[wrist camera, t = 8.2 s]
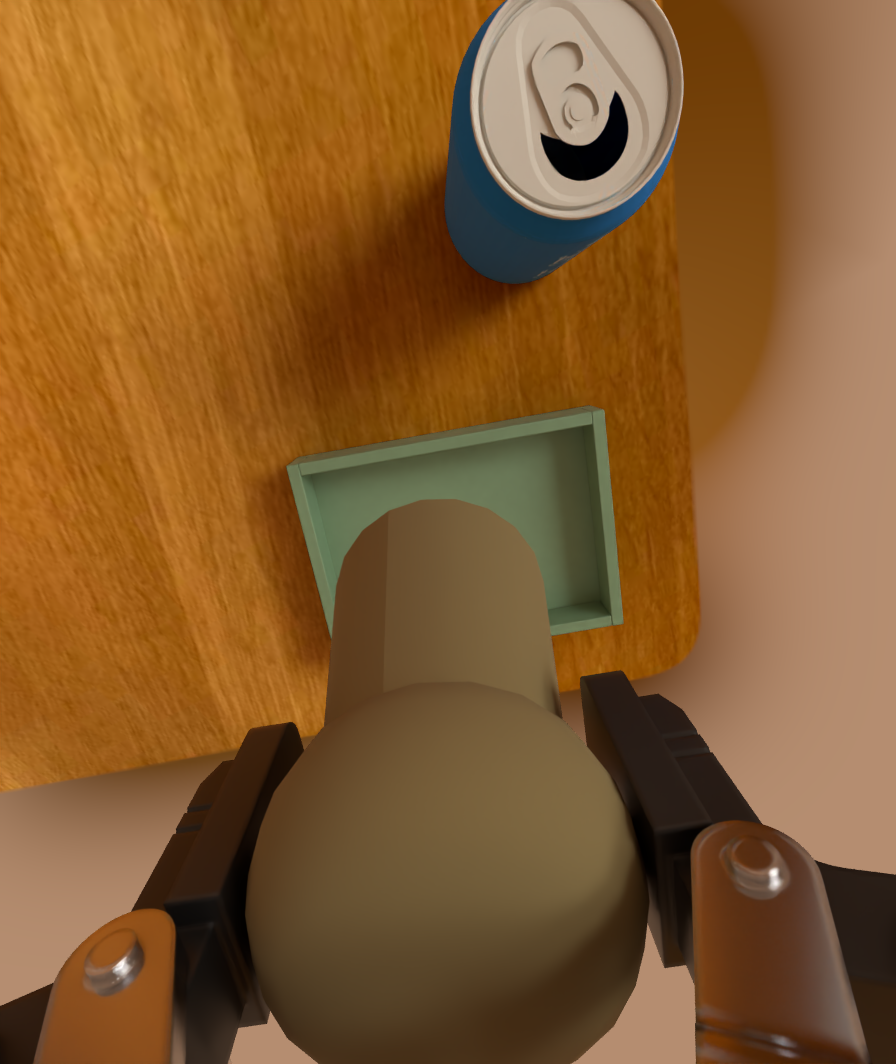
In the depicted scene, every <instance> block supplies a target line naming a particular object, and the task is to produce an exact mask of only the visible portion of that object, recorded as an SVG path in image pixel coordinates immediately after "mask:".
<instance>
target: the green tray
mask: <svg viewBox="0 0 896 1064" xmlns="http://www.w3.org/2000/svg"><path fill="white" fill-rule="evenodd" d="M286 468H287V472H288V476H289V480H290V484H291V488H292V491H293V495H294V499H295V503H296V507H297V511H298V515H299V518H300V522H301V526H302V530H303V534H304V538H305V541H306V545H307V549H308V553H309V557H310V561H311V564H312V568H313V572H314V576H315V580H316V584H317V588H318V591H319V595H320V599H321V603H322V607H323V611H324V614H325V618H326V622H327V626H328V630H329V634H330V637H331V640H332V628H333V616H334V605H335V593H336V585H337V581H338V578H339V574H340V570H341V566H342V563H343V559H344V556H345V555H346V553H347V552H348V550H349V549H350V548H351V546H352V545H353V543H354V542H355V540H356V539H357V537H358V536H359V534H360V533H361V532H362V530H364V529H365V528H366V527H368V526H369V525H370V524H372V523H373V522H374V521H376V520H377V519H378V518H380V517H381V516H382V515H384V514H385V513H386V512H388V511H389V510H392V509H395V508H398V507H401V506H404V505H407V504H410V503H413V502H416V501H418V500H426V499H458V500H461V501H464V502H468V503H471V504H475V505H478V506H482V507H485V508H488V509H490V510H491V511H493V512H494V513H496V514H497V515H498V516H500V517H501V518H503V519H504V520H506V521H507V522H509V523H510V524H512V525H513V526H515V527H516V529H517V530H518V531H519V533H520V534H521V535H522V537H523V538H524V539H525V541H526V542H527V543H528V545H529V546H530V547H531V549H532V550H533V551H534V553H535V556H536V559H537V562H538V565H539V568H540V572H541V575H542V578H543V581H544V587H545V595H546V602H547V609H548V617H549V624H550V631H551V636H553V635H559V634H565V633H571V632H577V631H583V630H589V629H595V628H601V627H607V626H611V625H613V626H614V625H620V624H623V612H622V601H621V590H620V579H619V568H618V557H617V546H616V535H615V524H614V513H613V502H612V491H611V480H610V469H609V458H608V447H607V436H606V425H605V414H604V410H603V409H600V408H597V407H594V406H590V405H589V406H583V407H577V408H572V409H566V410H560V411H555V412H549V413H544V414H538V415H532V416H527V417H521V418H516V419H510V420H504V421H499V422H493V423H488V424H482V425H476V426H471V427H465V428H459V429H454V430H448V431H443V432H437V433H431V434H426V435H420V436H415V437H409V438H403V439H398V440H392V441H386V442H381V443H375V444H370V445H364V446H358V447H353V448H347V449H342V450H336V451H330V452H325V453H319V454H314V455H308V456H302V457H298V458H296V459H295V460H294V461H293V462H291V463H290V464H289V465H287V466H286Z"/></svg>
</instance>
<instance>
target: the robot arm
mask: <svg viewBox="0 0 896 1064" xmlns="http://www.w3.org/2000/svg"><path fill="white" fill-rule="evenodd" d="M580 688H581V697H582V706H583V715H584V724H585V732H586V742H587V747H588V748H589V749H590V751H591V752H592V753H593V754H594V756H595V757H596V758H597V759H598V761H599V762H600V763H601V764H602V765H603V767H604V768H605V769H606V770H607V772H608V773H609V774H610V775H611V777H612V778H613V779H614V780H615V782H616V784H617V786H618V788H619V791H620V793H621V795H622V797H623V799H624V802H625V804H626V806H627V808H628V810H629V813H630V815H631V819H632V822H633V825H634V828H635V832H636V835H637V838H638V841H639V845H640V848H641V851H642V854H643V858H644V863H645V867H646V875H647V883H648V891H649V899H650V904H649V913H648V922H647V923H648V925H649V928H650V931H651V933H652V936H653V938H654V941H655V944H656V946H657V949H658V952H659V955H660V957H661V960H662V963H663V965H664V968H668V967H675V966H682V965H686V966H687V968H688V970H689V973H690V975H691V978H692V980H693V983H694V985H695V1007H696V1008H695V1010H696V1023H695V1039H696V1040H695V1041H696V1064H896V875H894V874H886V873H878V872H871V871H862V870H855V869H847V868H842V867H836V866H832V865H828V864H825V863H821V862H818V861H816V860H814V859H813V858H812V857H811V855H810V854H809V853H808V852H807V851H806V850H805V849H804V848H803V847H802V846H801V845H800V844H799V843H798V842H796V841H795V840H793V839H792V838H790V837H789V836H787V835H786V834H784V833H782V832H780V831H778V830H776V829H774V828H771V827H769V826H766V825H763V824H762V823H761V822H760V820H759V819H758V817H757V816H756V814H755V813H754V812H753V810H752V809H751V807H750V806H749V804H748V803H747V801H746V800H745V799H744V797H743V796H742V794H741V793H740V791H739V790H738V789H737V787H736V786H735V784H734V783H733V781H732V780H731V779H730V777H729V776H728V774H727V773H726V771H725V770H724V769H723V767H722V766H721V764H720V763H719V762H718V760H717V758H716V757H715V756H714V754H713V753H710V750H709V747H708V746H707V744H706V743H705V741H704V740H703V738H702V737H701V736H700V735H698V733H697V730H696V728H695V727H694V726H693V724H692V723H691V722H690V720H689V719H688V717H687V716H686V714H685V713H684V711H683V710H682V709H681V708H679V707H678V706H676V705H675V704H673V703H672V702H670V701H669V700H667V699H665V698H664V697H662V696H661V695H659V694H654V695H648V696H641V697H638V696H637V694H636V692H635V691H634V689H633V688H632V686H631V684H630V682H629V680H628V679H627V677H626V675H625V674H624V672H623V671H621V670H620V671H614V672H608V673H601V674H595V675H589V676H582V677H581V678H580ZM303 752H304V749H303V745H302V742H301V738H300V735H299V732H298V729H297V727H296V725H295V724H294V723H293V722H288V723H282V724H276V725H269V726H263V727H257V728H252V729H250V730H249V731H248V733H247V735H246V737H245V739H244V741H243V743H242V745H241V747H240V749H239V751H238V753H237V755H236V757H235V759H234V760H230V761H223V762H222V763H221V764H220V765H219V766H218V767H217V768H216V769H215V770H214V771H213V772H212V773H211V774H210V775H209V776H208V777H207V778H206V779H205V780H204V781H203V782H202V783H201V784H200V786H199V788H198V790H197V791H196V794H195V795H194V797H193V799H192V801H191V803H190V804H189V806H188V808H187V809H188V811H187V813H185V814H184V815H183V817H182V819H181V821H180V823H179V824H178V826H177V828H176V834H173V836H172V837H171V839H170V841H169V843H168V845H167V847H166V848H165V850H164V852H163V854H162V856H161V858H160V859H159V861H158V863H157V865H156V867H155V869H154V870H153V872H152V874H151V876H150V878H149V880H148V881H147V883H146V885H145V887H144V889H143V891H142V892H141V894H140V896H139V898H138V900H137V902H136V903H135V905H134V907H133V909H132V911H131V912H130V913H127V914H124V915H122V916H120V917H118V918H116V919H114V920H112V921H110V922H109V923H107V924H105V925H104V926H102V927H101V928H100V929H98V930H97V931H95V932H94V933H93V934H92V935H90V936H89V937H88V938H87V939H86V940H85V941H84V942H82V943H81V944H80V946H79V947H78V948H77V949H76V950H75V951H74V952H73V953H72V954H71V956H70V957H69V958H68V959H67V961H66V962H65V964H64V965H63V967H62V968H61V970H60V971H59V973H58V975H57V977H56V979H55V981H54V983H52V984H50V985H47V986H45V987H43V988H41V989H38V990H36V991H34V992H31V993H29V994H27V995H25V996H22V997H20V998H18V999H15V1000H13V1001H11V1002H9V1003H6V1004H4V1005H2V1006H0V1064H232V1062H231V1060H230V1054H231V1051H232V1047H233V1043H234V1040H235V1037H236V1034H237V1030H238V1028H240V1027H248V1026H254V1025H261V1024H267V1021H268V1017H269V1014H270V1009H269V1008H268V1006H267V1005H266V1003H265V1001H264V999H263V996H262V993H261V989H260V986H259V983H258V979H257V976H256V973H255V969H254V966H253V963H252V956H251V950H250V944H249V937H248V931H247V925H246V918H245V908H246V895H247V881H248V873H249V869H250V865H251V861H252V858H253V854H254V850H255V846H256V842H257V838H258V835H259V831H260V827H261V824H262V821H263V819H264V816H265V814H266V811H267V809H268V806H269V804H270V801H271V798H272V796H273V793H274V791H275V790H276V789H277V787H278V786H279V784H280V783H281V782H282V780H283V779H284V778H285V776H286V775H287V774H288V772H289V771H290V770H291V768H292V767H293V766H294V764H295V763H296V761H297V760H298V759H299V757H300V756H301V755H302V753H303Z"/></svg>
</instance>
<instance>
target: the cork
mask: <svg viewBox="0 0 896 1064" xmlns="http://www.w3.org/2000/svg"><path fill="white" fill-rule="evenodd" d="M649 904H650V899H649V891H648V883H647V875H646V867H645V863H644V858H643V854H642V851H641V848H640V845H639V841H638V838H637V835H636V832H635V828H634V825H633V822H632V819H631V815H630V813H629V810H628V808H627V806H626V804H625V802H624V799H623V797H622V795H621V793H620V791H619V788H618V786H617V784H616V782H615V780H614V779H613V778H612V777H611V775H610V774H609V773H608V772H607V770H606V769H605V768H604V767H603V765H602V764H601V763H600V762H599V761H598V759H597V758H596V757H595V756H594V754H593V753H592V752H591V751H590V749H589V748H588V747H587V746H586V745H585V743H584V742H583V741H582V740H581V739H580V737H579V736H578V735H577V734H576V733H575V732H574V731H573V730H572V729H571V727H570V726H569V725H568V724H567V723H566V722H565V721H564V720H563V719H562V712H561V704H560V697H559V690H558V682H557V675H556V668H555V660H554V653H553V646H552V639H551V631H550V624H549V617H548V609H547V602H546V595H545V587H544V581H543V578H542V575H541V572H540V568H539V565H538V562H537V559H536V556H535V553H534V551H533V550H532V549H531V547H530V546H529V545H528V543H527V542H526V541H525V539H524V538H523V537H522V535H521V534H520V533H519V531H518V530H517V529H516V527H515V526H513V525H512V524H510V523H509V522H507V521H506V520H504V519H503V518H501V517H500V516H498V515H497V514H496V513H494V512H493V511H491V510H490V509H488V508H485V507H482V506H478V505H475V504H471V503H468V502H464V501H461V500H458V499H426V500H418V501H416V502H413V503H410V504H407V505H404V506H401V507H398V508H395V509H392V510H389V511H388V512H386V513H385V514H384V515H382V516H381V517H380V518H378V519H377V520H376V521H374V522H373V523H372V524H370V525H369V526H368V527H366V528H365V529H364V530H362V532H361V533H360V534H359V536H358V537H357V539H356V540H355V542H354V543H353V545H352V546H351V548H350V549H349V550H348V552H347V553H346V555H345V556H344V559H343V563H342V566H341V570H340V574H339V578H338V581H337V585H336V593H335V605H334V616H333V628H332V640H331V651H330V663H329V675H328V687H327V698H326V710H325V722H324V727H323V728H322V729H321V730H320V732H319V733H318V734H317V735H316V737H315V738H314V739H313V741H312V742H311V743H310V744H309V746H308V747H307V748H306V749H305V751H304V752H303V753H302V755H301V756H300V757H299V759H298V760H297V761H296V763H295V764H294V766H293V767H292V768H291V770H290V771H289V772H288V774H287V775H286V776H285V778H284V779H283V780H282V782H281V783H280V784H279V786H278V787H277V789H276V790H275V791H274V793H273V796H272V798H271V801H270V804H269V806H268V809H267V811H266V814H265V816H264V819H263V821H262V824H261V827H260V831H259V835H258V838H257V842H256V846H255V850H254V854H253V858H252V861H251V865H250V869H249V873H248V881H247V895H246V908H245V918H246V925H247V931H248V937H249V944H250V950H251V956H252V963H253V966H254V969H255V973H256V976H257V979H258V983H259V986H260V989H261V993H262V996H263V999H264V1001H265V1003H266V1005H267V1006H268V1008H269V1009H270V1011H271V1013H272V1014H273V1016H274V1017H275V1019H276V1021H277V1022H278V1024H279V1025H280V1027H281V1029H282V1030H283V1032H284V1034H285V1035H286V1037H287V1038H288V1039H289V1040H290V1041H291V1042H293V1043H294V1044H295V1045H296V1046H298V1047H299V1048H300V1049H301V1050H302V1051H304V1052H305V1053H306V1054H308V1055H309V1056H310V1057H311V1058H312V1059H314V1060H315V1061H316V1062H317V1063H318V1064H571V1063H573V1062H574V1061H576V1060H578V1059H579V1058H580V1057H581V1056H582V1055H583V1054H584V1053H585V1052H586V1051H587V1050H589V1049H590V1048H591V1047H592V1046H593V1045H594V1044H595V1043H596V1042H597V1041H598V1040H599V1039H600V1038H602V1037H603V1036H604V1035H605V1034H606V1033H607V1032H608V1031H609V1030H610V1029H611V1028H612V1027H613V1026H614V1025H615V1023H616V1021H617V1019H618V1017H619V1016H620V1014H621V1012H622V1010H623V1008H624V1006H625V1005H626V1003H627V1001H628V999H629V997H630V996H631V994H632V992H633V990H634V988H635V986H636V982H637V978H638V974H639V969H640V965H641V961H642V957H643V953H644V948H645V939H646V930H647V922H648V913H649Z"/></svg>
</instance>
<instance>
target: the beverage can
mask: <svg viewBox="0 0 896 1064" xmlns="http://www.w3.org/2000/svg"><path fill="white" fill-rule="evenodd" d="M682 100H683V69H682V62H681V56H680V52H679V48H678V44H677V41H676V38H675V36H674V33H673V30H672V28H671V26H670V24H669V22H668V20H667V18H666V17H665V15H664V13H663V11H662V10H661V9H660V7H659V6H658V5H657V3H656V2H655V0H506V1H505V2H503V3H502V4H501V5H500V6H499V7H498V8H497V9H496V10H495V11H494V12H493V13H492V14H491V15H490V16H489V18H488V19H487V20H486V21H485V23H484V24H483V25H482V26H481V28H480V29H479V31H478V32H477V34H476V35H475V37H474V39H473V40H472V42H471V44H470V46H469V48H468V50H467V52H466V54H465V56H464V58H463V61H462V64H461V67H460V70H459V73H458V76H457V81H456V85H455V90H454V96H453V106H452V117H451V129H450V141H449V153H448V165H447V178H446V190H445V217H446V223H447V227H448V231H449V234H450V237H451V239H452V242H453V243H454V245H455V247H456V249H457V251H458V252H459V254H460V255H461V256H462V258H463V259H464V260H465V261H466V262H467V263H468V264H469V265H470V266H471V267H472V268H473V269H474V270H476V271H477V272H479V273H480V274H482V275H483V276H485V277H487V278H490V279H492V280H495V281H498V282H502V283H510V284H520V283H527V282H531V281H534V280H538V279H540V278H542V277H544V276H546V275H548V274H550V273H551V272H553V271H554V270H556V269H557V268H559V267H560V266H562V265H563V264H565V263H566V262H567V261H569V260H570V259H572V258H573V257H575V256H576V255H577V254H579V253H580V252H582V251H583V250H585V249H586V248H588V247H589V246H590V245H592V244H593V243H595V242H596V241H598V240H599V239H601V238H602V237H603V236H605V235H606V234H608V233H609V232H611V231H612V230H614V229H615V228H616V227H618V226H619V225H621V224H622V223H623V222H625V221H626V220H627V219H628V218H629V217H631V216H632V215H633V214H634V213H635V212H636V211H637V210H638V209H639V208H640V207H641V206H642V205H643V204H644V203H645V201H646V200H647V199H648V197H649V196H650V195H651V193H652V192H653V191H654V189H655V187H656V186H657V184H658V182H659V181H660V179H661V177H662V175H663V173H664V171H665V169H666V167H667V164H668V162H669V160H670V157H671V154H672V151H673V148H674V145H675V140H676V136H677V131H678V126H679V119H680V114H681V109H682Z"/></svg>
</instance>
